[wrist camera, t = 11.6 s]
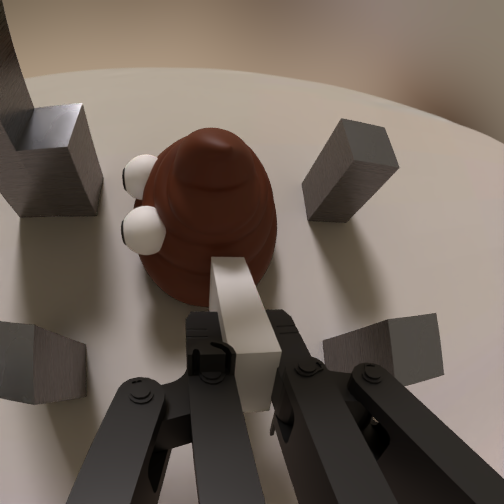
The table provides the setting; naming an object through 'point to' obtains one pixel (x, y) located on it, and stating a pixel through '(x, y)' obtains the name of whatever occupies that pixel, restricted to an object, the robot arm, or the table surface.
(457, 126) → the table surface
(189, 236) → the poop emoji
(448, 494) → the robot arm
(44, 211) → the sight ring stand
